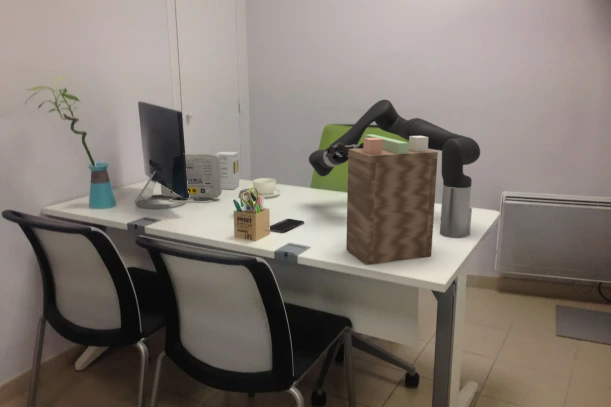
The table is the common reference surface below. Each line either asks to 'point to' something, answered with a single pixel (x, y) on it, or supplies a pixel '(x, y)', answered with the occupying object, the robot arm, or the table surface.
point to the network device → (200, 178)
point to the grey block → (418, 143)
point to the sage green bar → (392, 144)
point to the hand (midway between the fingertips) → (354, 146)
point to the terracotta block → (372, 145)
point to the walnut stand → (390, 205)
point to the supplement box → (229, 170)
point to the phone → (285, 225)
